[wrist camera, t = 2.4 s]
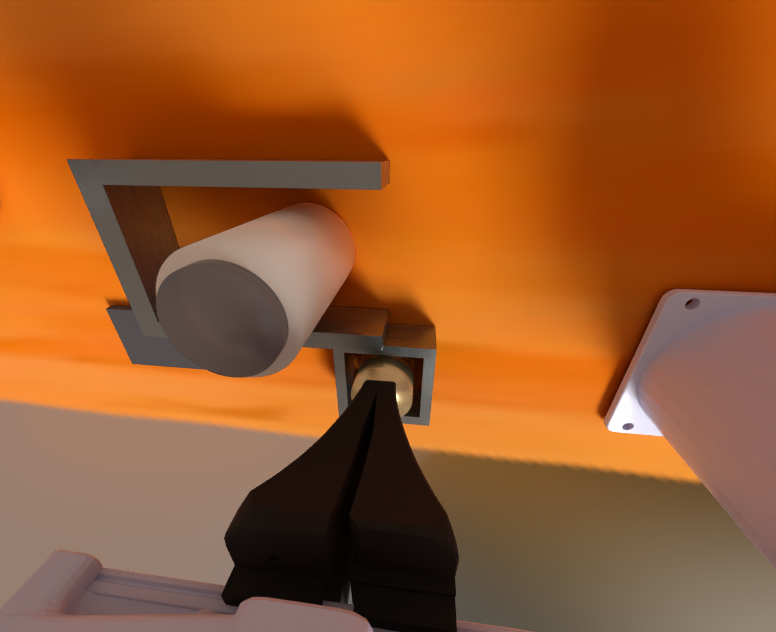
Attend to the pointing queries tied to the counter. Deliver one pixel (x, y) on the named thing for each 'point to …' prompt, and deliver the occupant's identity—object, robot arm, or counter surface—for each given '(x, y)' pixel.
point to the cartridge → (254, 289)
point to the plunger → (388, 376)
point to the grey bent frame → (150, 217)
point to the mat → (145, 342)
